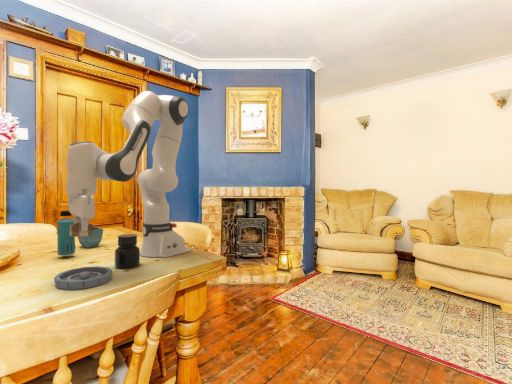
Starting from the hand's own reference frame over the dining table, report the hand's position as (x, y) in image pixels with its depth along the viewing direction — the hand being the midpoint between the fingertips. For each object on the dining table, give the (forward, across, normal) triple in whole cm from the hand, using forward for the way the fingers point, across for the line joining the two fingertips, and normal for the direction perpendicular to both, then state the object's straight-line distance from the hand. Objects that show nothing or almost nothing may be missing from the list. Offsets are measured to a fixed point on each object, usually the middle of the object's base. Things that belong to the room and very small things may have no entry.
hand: (81, 229), depth 100 cm
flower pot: (+17, +48, -14) cm, 52 cm away
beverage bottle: (+17, +32, -1) cm, 37 cm away
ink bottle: (+17, +4, -17) cm, 24 cm away
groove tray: (+17, -5, 0) cm, 17 cm away
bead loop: (+2, 0, 0) cm, 2 cm away
